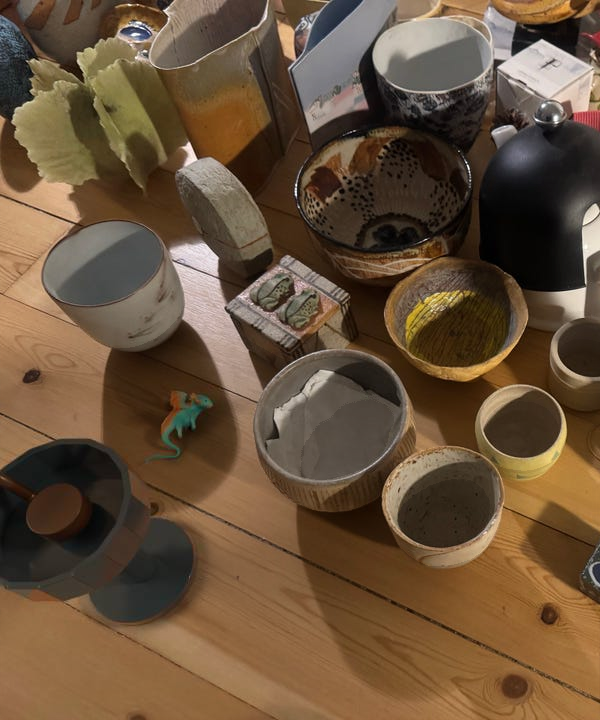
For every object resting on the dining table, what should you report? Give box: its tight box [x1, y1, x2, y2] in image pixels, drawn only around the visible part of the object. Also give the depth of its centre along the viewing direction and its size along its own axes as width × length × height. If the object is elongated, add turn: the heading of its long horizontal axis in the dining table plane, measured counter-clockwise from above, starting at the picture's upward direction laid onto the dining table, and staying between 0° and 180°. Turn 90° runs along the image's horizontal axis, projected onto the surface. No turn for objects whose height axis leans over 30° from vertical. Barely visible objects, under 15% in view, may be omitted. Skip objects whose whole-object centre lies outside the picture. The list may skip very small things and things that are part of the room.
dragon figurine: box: [144, 390, 213, 465], centre depth 83 cm, size 7×7×8 cm
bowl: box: [0, 437, 199, 626], centre depth 67 cm, size 13×13×19 cm
